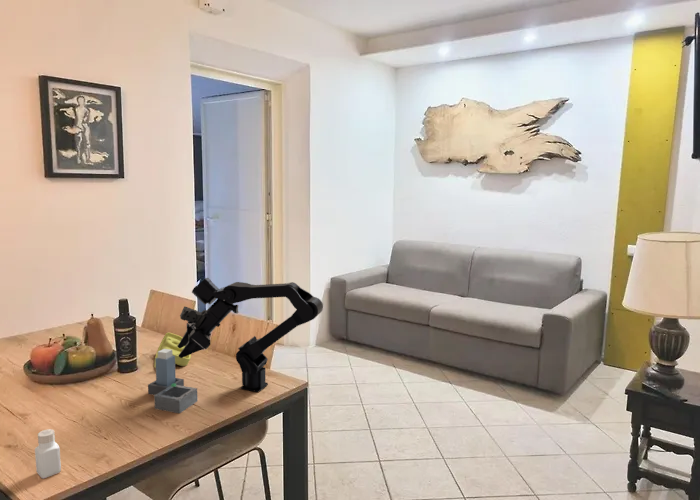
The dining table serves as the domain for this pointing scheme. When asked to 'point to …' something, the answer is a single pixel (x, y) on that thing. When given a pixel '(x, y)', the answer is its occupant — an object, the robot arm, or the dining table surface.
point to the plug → (165, 368)
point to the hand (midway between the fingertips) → (179, 352)
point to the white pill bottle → (47, 454)
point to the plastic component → (173, 348)
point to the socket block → (175, 398)
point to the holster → (155, 389)
